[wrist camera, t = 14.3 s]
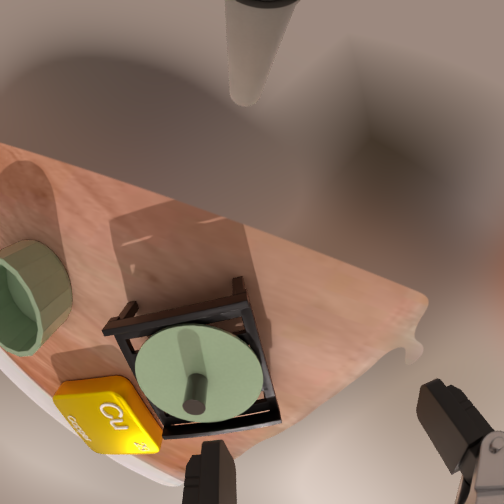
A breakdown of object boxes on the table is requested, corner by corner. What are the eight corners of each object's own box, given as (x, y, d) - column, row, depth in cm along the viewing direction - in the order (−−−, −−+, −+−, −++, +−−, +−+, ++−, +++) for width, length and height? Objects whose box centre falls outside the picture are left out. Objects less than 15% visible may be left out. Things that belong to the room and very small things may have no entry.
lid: (117, 333, 30) (100, 360, 25) (245, 307, 30) (247, 335, 25) (165, 422, 34) (158, 452, 29) (273, 405, 34) (278, 437, 29)
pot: (-5, 252, 33) (-40, 269, 25) (52, 227, 33) (14, 243, 24) (26, 331, 36) (-1, 358, 28) (86, 320, 36) (59, 352, 28)
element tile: (57, 381, 39) (46, 397, 35) (126, 372, 39) (117, 392, 34) (100, 439, 43) (94, 456, 39) (167, 436, 43) (163, 456, 38)
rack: (124, 300, 36) (101, 330, 28) (244, 272, 36) (247, 300, 28) (172, 402, 41) (163, 439, 33) (274, 384, 41) (282, 423, 33)
